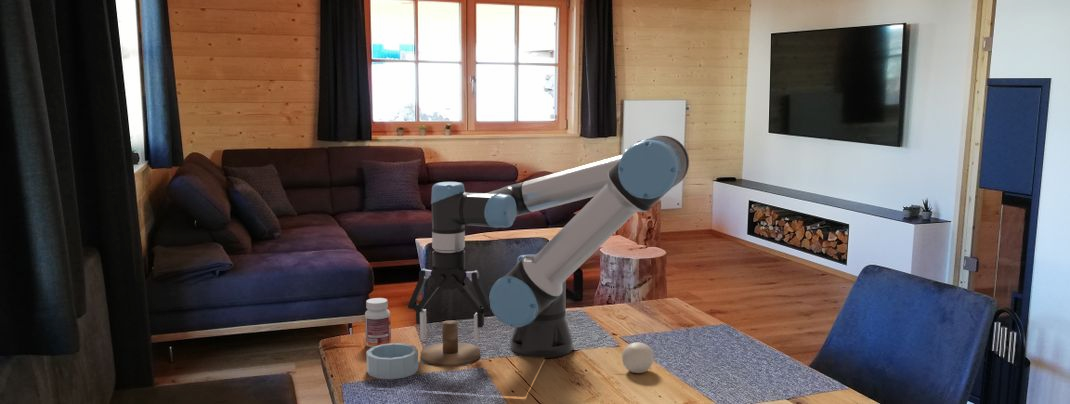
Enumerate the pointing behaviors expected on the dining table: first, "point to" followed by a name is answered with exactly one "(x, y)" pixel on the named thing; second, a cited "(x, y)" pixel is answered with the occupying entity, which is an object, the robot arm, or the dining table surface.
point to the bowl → (392, 361)
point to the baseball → (637, 357)
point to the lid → (450, 348)
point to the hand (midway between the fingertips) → (450, 339)
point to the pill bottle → (377, 322)
